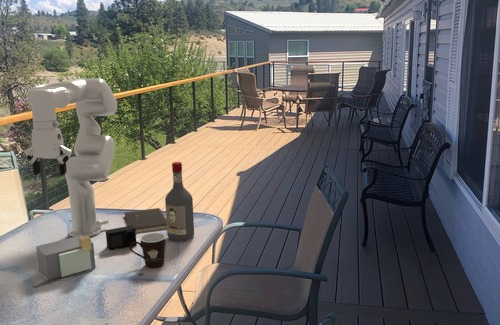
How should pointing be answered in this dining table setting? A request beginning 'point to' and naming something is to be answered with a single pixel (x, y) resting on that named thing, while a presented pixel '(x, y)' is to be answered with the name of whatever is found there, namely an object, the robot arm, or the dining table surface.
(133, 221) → the hardcover book
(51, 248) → the box
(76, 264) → the side door
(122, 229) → the digital camera
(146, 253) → the coffee mug
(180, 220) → the liquor
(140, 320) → the dining table surface
